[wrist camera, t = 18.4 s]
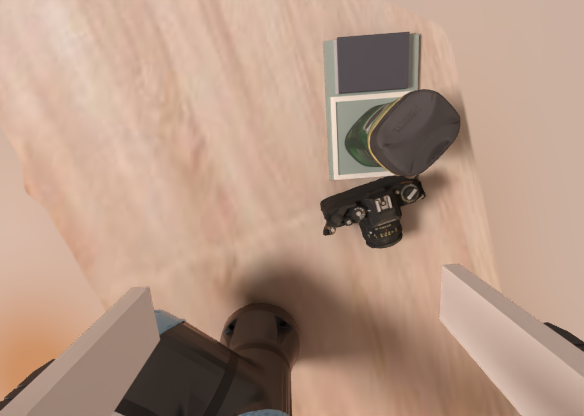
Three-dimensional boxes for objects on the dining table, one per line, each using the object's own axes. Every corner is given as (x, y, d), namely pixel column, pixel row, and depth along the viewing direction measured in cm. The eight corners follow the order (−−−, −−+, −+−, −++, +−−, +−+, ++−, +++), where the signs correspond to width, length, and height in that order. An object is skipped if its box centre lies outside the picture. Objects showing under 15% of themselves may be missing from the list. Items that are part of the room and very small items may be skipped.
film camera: (347, 260, 54) (360, 286, 44) (308, 210, 52) (313, 226, 42) (427, 204, 52) (460, 218, 42) (390, 149, 50) (415, 151, 40)
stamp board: (329, 179, 50) (330, 180, 50) (323, 42, 45) (323, 40, 45) (414, 173, 50) (416, 173, 50) (417, 35, 45) (419, 33, 45)
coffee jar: (368, 173, 50) (415, 192, 32) (336, 142, 48) (364, 143, 30) (409, 130, 48) (482, 124, 30) (376, 97, 47) (432, 70, 29)
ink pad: (335, 94, 47) (337, 93, 46) (333, 40, 45) (334, 37, 44) (407, 88, 47) (410, 87, 46) (408, 34, 45) (411, 31, 44)
